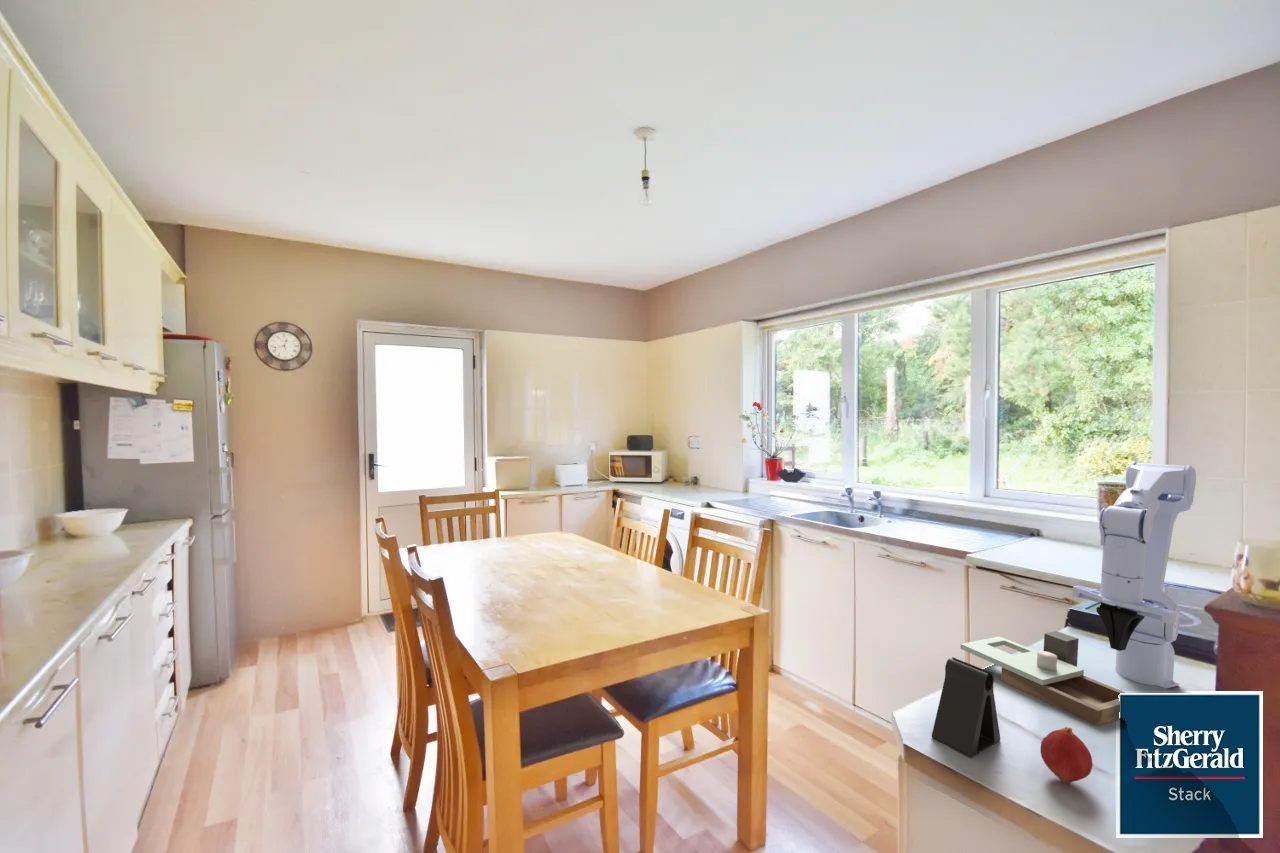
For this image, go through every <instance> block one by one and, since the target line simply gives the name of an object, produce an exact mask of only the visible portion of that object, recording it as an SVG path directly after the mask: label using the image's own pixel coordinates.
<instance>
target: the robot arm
mask: <svg viewBox="0 0 1280 853" xmlns="http://www.w3.org/2000/svg"><path fill="white" fill-rule="evenodd" d="M1196 471H1197V470H1196V469H1195V467H1193V466H1192V465H1190V464H1189V465H1187V464H1186V465H1177V464H1165V463H1164V464H1163V463H1151V462H1150V463H1149V462H1138V461H1131V463H1129V464H1128V465H1127V467H1126V472H1125V485H1126V487H1127V489H1125V490H1123V491H1122V493H1120V495H1118V498H1117V499H1116V500H1115V502H1114V504H1113V505H1109V506H1108V507H1103V508H1102V509H1101V510H1100V515H1099V521H1098V522H1099V524H1098V526H1099V533H1100V546H1102V561H1101V579H1100V580H1101V581H1100V589H1097V588H1092V587H1087V586H1084V585H1074V586H1072V597H1074V598H1077V599H1079V598H1081V599H1085V600H1087V601H1091V602H1095V603H1098V604H1099V606H1098V607H1096V608H1095V609H1096V613H1097V615H1098V617H1099V618H1100V620H1101V621H1102V624H1103V626H1104V627H1105V631H1106V634H1107V638H1108V640H1109V646H1110V649H1112V650H1116V651H1115V667H1114V669H1115V670H1114V671H1115V673H1117V675H1119V676H1121V677H1122V678H1125V679H1127V680H1130V681H1132V682H1136V683H1140V684H1143V685H1149V686H1159V687H1162V688H1164V689H1170V688H1174V687H1177V686H1179V685H1180V683H1179V682H1178V681H1175V680H1174V673H1175V672H1174V669H1175V668H1174V667H1175V655H1176V654H1175V649H1174V647H1173V644H1172V643H1173V642H1174V641H1177V638H1178V636H1179V629H1180V606H1179V604H1178V602H1177V601H1176V600H1175V599H1173V598H1172V597H1171V596H1170V595H1169V594H1168V593H1166V592H1165V591H1164V584H1165V578H1166V572H1167V566H1168V560H1169V554H1170V547H1171V544H1172V543H1171V542H1172V536H1173V530H1174V524H1175V523H1176V519H1177V517H1178V516H1179V513H1183V512H1186V511H1189V510H1191V506H1192V505H1193V503H1194V499H1195V498H1194V497H1195V489H1196V485H1197V472H1196Z"/></svg>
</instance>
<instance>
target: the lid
mask: <svg viewBox="0 0 1280 853" xmlns="http://www.w3.org/2000/svg"><path fill="white" fill-rule="evenodd" d="M1000 646H1005V647H1007V648H1009V649H1012V650H1015V651H1017V652H1020V653H1017V654H1011V653H1009V652H1007V651H1004V650H1002V649H999V648H997V647H1000ZM960 650H962V651H965V652H967V653H969V654H972V655H974V656H976V657H977V658H978V657H979V659H980V658H981V659H983V660H985V661H987V662H989V663H991V664H993V665H996V666H998V667H1000V668H1001V669H1002V668H1005V669H1007V670H1009V671H1011V672H1014V673H1016V674H1018V675H1020V676H1022V677H1025V678H1027V679H1029V680H1031V681H1034V682H1036V683H1038V684H1040V685H1047V684H1050V683H1054V682H1058V681H1062V680H1066V679H1070V678H1074V677H1078V676H1082V675H1083V676H1085V669H1083V668H1080V667H1078V666H1077V667H1076V666H1073V665H1071V664H1068V663H1066V662H1063V661H1061V660H1058V659H1057V656H1056V655H1055V654H1053V653H1050V652H1046V651H1044V650H1035V649H1033V648H1031V647H1028V646H1025V645H1022V644H1020V643H1017V642H1015V641H1013V640H1010V639H1009V638H1008V639H1007V638H1005V637H1002V636H995V637H989V638H984V639H978V640H974V641H969V642H965V643H964V642H963V643H960Z"/></svg>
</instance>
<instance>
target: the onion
mask: <svg viewBox="0 0 1280 853" xmlns="http://www.w3.org/2000/svg"><path fill="white" fill-rule="evenodd" d="M1040 755H1041V758H1042V761H1043V762H1044V763H1045V765H1046V767H1047V768H1048V769H1049V770H1050V771H1051V773H1053V775H1055V776H1056V777H1057V778H1058V779H1059V780H1060V781H1061V782H1062V783H1064V784H1071V783H1074V782H1077V781H1080V780H1083V779H1085V778H1087V777H1088V776H1089V775H1090V774H1091V772H1092V769H1093V758H1092V757H1093V756H1092V754H1091V752H1090V750H1089V748H1088V747H1087V746H1086V744H1085V743H1084V741H1082V740H1081V738H1079V737H1078V736H1077V735H1076V734H1074V733H1073V728H1072V727H1070V726H1065V727H1064V728H1061V729H1057V730H1053V731H1050V732H1049V733H1048V734H1047V735H1046V736H1045V737H1044V738H1042V740H1041V742H1040Z"/></svg>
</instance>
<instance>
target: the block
mask: <svg viewBox="0 0 1280 853" xmlns="http://www.w3.org/2000/svg"><path fill="white" fill-rule="evenodd" d="M1043 651H1046V652H1050V653H1053V654H1055V655H1056V656H1057V659H1058V660H1061V661H1063V662H1066V663H1068V664H1071V665H1073V666H1076V667H1078V656H1079V655H1078V654H1079V653H1078V652H1079V638H1078V637H1074V636H1072V635H1069V634H1066V633H1063V632H1062V631H1061V632H1060V631H1058V630H1054V631H1051V632H1047V633H1046V632H1045V633H1044V638H1043Z"/></svg>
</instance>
